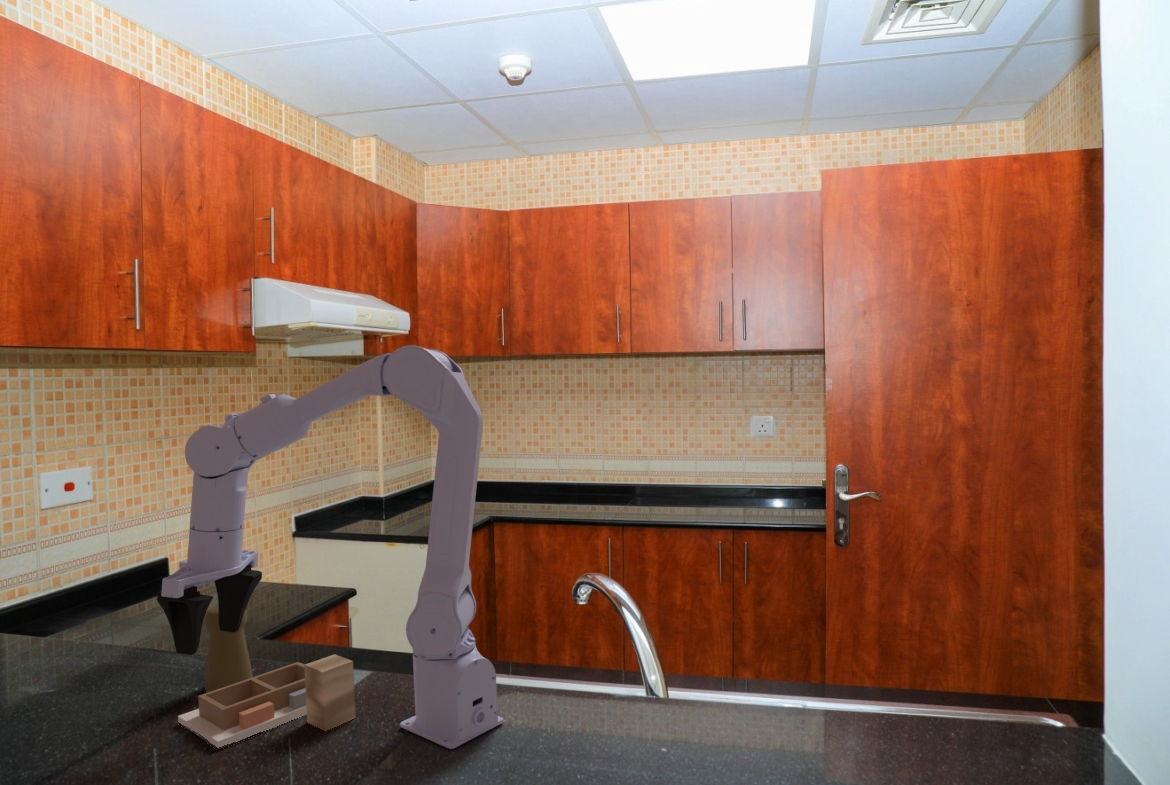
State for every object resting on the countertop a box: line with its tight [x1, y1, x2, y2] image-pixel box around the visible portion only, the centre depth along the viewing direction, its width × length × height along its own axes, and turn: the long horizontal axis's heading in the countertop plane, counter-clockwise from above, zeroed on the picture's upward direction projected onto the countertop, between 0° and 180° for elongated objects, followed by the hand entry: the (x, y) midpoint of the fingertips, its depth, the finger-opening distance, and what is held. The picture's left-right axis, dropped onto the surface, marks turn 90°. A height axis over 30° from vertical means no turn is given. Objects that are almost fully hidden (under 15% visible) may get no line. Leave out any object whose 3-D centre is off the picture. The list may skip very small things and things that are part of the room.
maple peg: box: [305, 653, 357, 732], centre depth 87 cm, size 4×4×7 cm
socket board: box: [177, 661, 307, 748], centre depth 90 cm, size 11×16×3 cm
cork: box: [204, 605, 254, 692], centre depth 99 cm, size 6×6×11 cm
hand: (208, 641), depth 86 cm, fingers open, 7 cm apart
